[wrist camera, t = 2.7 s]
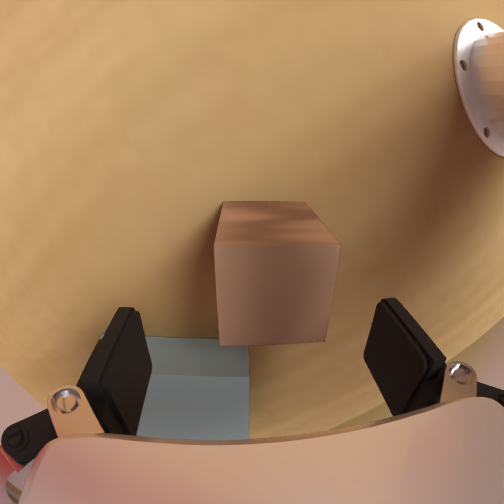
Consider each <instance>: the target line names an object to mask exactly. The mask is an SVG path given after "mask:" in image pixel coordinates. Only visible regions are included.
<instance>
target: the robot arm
mask: <svg viewBox="0 0 504 504" xmlns="http://www.w3.org/2000/svg"><path fill="white" fill-rule="evenodd" d="M477 24H479V26H480V28H481V30H480V29H479V28H478V26H477ZM460 61H462V62H463V64H464V67H465V69H464V70H463V69H462V68H461V66H460ZM453 63H454V72H455V78H456V83H457V87H458V91H459V94H460V98H461V101H462V104H463V107H464V109H465V111H466V114H467V116H468V118H469V121H470V123H471V124H472V126H473V128H474V130H475V132H476V133H477V135H478V136H479V138H480V139H481V140H482V142H483V143H484V144H485V145H486V146H487V147H488V148H489V149H490V150H491V151H493V152H494V153H496V154H497V155H499V156H502V157H504V30H502V29H501V28H500V27H499V26H498V25H496V24H494V23H492V22H491V21H489V20H485V19H482V18H473V19H470V20H468V21H466V22H464V23H463V24H462V25H461V26H460V28H459V29H458V31H457V34H456V37H455V41H454V47H453ZM484 128H486V130H487V136H486V137H485V135H484ZM364 360H365V362H366V364H367V366H368V368H369V370H370V372H371V374H372V376H373V378H374V380H375V382H376V383H377V385H378V387H379V389H380V391H381V393H382V395H383V397H384V399H385V401H386V403H387V405H388V407H389V409H390V411H391V413H392V415H393V417H390V418H386V419H382V420H378V421H374V422H370V423H365V424H361V425H356V426H351V427H346V428H341V429H335V430H329V431H323V432H317V433H310V434H302V435H294V436H284V437H274V438H260V439H240V440H191V439H170V438H155V437H144V436H136V435H137V431H138V426H139V422H140V417H141V413H142V409H143V405H144V401H145V397H146V393H147V389H148V385H149V381H150V377H151V373H152V361H151V357H150V354H149V350H148V346H147V342H146V338H145V334H144V330H143V326H142V322H141V317H140V313H139V312H138V311H135V309H134V308H133V307H119V308H118V310H117V312H116V313H115V315H114V317H113V319H112V321H111V323H110V324H109V326H108V328H107V330H106V332H105V334H104V336H103V338H102V339H100V340H99V341H98V343H97V344H96V346H95V348H94V350H93V352H92V354H91V356H90V358H89V360H88V362H87V364H86V366H85V368H84V370H83V372H82V374H81V376H80V379H79V381H78V383H77V385H76V386H73V385H64V386H60V387H58V388H56V389H55V390H54V391H53V392H51V394H50V395H49V397H48V400H47V407H48V409H45V410H43V411H41V412H39V413H37V414H35V415H32V416H30V417H28V418H26V419H24V420H21V421H19V422H17V423H15V424H12V425H10V426H9V427H7V429H6V430H5V431H4V432H3V435H2V438H1V443H2V445H0V504H504V390H501V389H498V388H495V387H492V386H489V385H486V384H483V383H480V382H477V375H476V372H475V370H474V369H473V368H472V367H471V366H469V365H468V364H466V363H464V362H459V361H456V362H451V363H449V364H448V365H446V364H445V361H446V357H445V356H444V355H443V353H442V352H441V351H440V350H439V348H438V347H437V346H436V345H435V343H434V342H433V341H432V340H431V339H430V337H429V336H428V335H427V334H426V332H425V331H424V330H423V329H422V328H421V326H420V325H419V324H418V323H417V322H416V321H415V319H414V318H413V317H412V316H411V315H410V314H409V312H408V311H407V310H406V309H405V308H404V307H403V305H402V304H401V303H400V302H399V301H398V300H397V299H396V298H386V299H382V300H381V302H380V303H378V304H377V307H376V311H375V315H374V318H373V322H372V326H371V330H370V333H369V337H368V340H367V344H366V347H365V350H364Z"/></svg>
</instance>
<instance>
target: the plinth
mask: <svg viewBox="0 0 504 504" xmlns="http://www.w3.org/2000/svg"><path fill="white" fill-rule="evenodd" d="M104 334H105V333H103V334H102V336H101V338H100V339H102V338H103V336H104ZM145 338H146V342H147V346H148V350H149V354H150V357H151V361H152V373H151V377H150V381H149V385H148V389H147V393H146V397H145V401H144V405H143V409H142V413H141V417H140V422H139V426H138V431H137V435H136V436H144V437H155V438H170V439H191V440H240V439H249V396H250V374H249V353H248V345H220V341H219V339H207V338H171V337H151V336H145ZM100 339H99V340H100Z"/></svg>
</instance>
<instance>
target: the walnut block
mask: <svg viewBox="0 0 504 504" xmlns="http://www.w3.org/2000/svg"><path fill="white" fill-rule="evenodd" d="M340 250H341V244H340V243H339V242H338V241H337V239H336V238H335V237H334V236H333V235H332V233H331V232H330V231H329V230H328V228H327V227H326V226H325V225H324V224H323V222H322V221H321V220H320V219H319V218H318V216H317V215H316V214H315V213H314V212H313V210H312V209H311V208H310V207H309V206H308V205H307V203H306V202H281V201H228V202H223V205H222V210H221V214H220V219H219V224H218V228H217V233H216V238H215V242H214V262H215V281H216V298H217V313H218V328H219V341H220V345H276V344H298V343H314V342H325V339H326V334H327V329H328V323H329V318H330V313H331V307H332V302H333V296H334V290H335V284H336V277H337V271H338V264H339V257H340Z"/></svg>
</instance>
